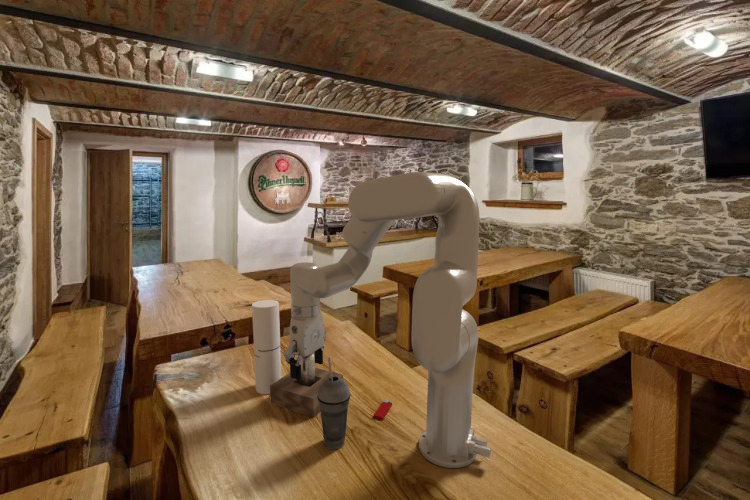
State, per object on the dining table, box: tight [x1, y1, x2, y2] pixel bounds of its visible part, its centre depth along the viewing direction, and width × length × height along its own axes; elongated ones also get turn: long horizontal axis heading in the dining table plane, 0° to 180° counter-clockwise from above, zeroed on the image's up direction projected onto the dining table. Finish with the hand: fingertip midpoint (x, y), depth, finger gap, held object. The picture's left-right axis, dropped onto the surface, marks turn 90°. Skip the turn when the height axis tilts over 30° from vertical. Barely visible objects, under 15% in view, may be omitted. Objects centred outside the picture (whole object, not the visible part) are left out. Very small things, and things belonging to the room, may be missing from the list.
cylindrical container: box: [251, 299, 282, 395], centre depth 107 cm, size 7×7×25 cm
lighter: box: [372, 398, 393, 421], centre depth 98 cm, size 3×1×8 cm
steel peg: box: [300, 352, 316, 387], centre depth 103 cm, size 4×4×12 cm
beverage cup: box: [317, 357, 351, 451], centre depth 84 cm, size 7×7×20 cm
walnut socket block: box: [269, 367, 344, 418], centre depth 103 cm, size 14×14×5 cm
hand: (307, 370), depth 103 cm, fingers open, 9 cm apart
